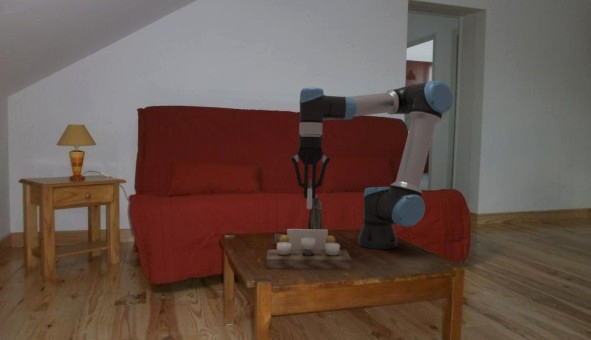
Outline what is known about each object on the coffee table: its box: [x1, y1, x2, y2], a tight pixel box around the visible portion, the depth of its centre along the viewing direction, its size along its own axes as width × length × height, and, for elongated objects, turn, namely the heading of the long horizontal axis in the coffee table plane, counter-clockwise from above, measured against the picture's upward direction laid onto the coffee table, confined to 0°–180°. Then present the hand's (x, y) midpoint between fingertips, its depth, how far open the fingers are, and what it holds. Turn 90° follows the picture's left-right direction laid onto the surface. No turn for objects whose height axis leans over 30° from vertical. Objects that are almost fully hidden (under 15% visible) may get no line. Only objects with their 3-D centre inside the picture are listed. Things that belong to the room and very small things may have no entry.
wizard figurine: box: [306, 178, 324, 229], centre depth 178 cm, size 10×8×25 cm
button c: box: [276, 242, 291, 256], centre depth 141 cm, size 5×5×6 cm
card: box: [280, 228, 336, 250], centre depth 147 cm, size 19×1×10 cm, turn 91°
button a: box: [325, 242, 341, 256], centre depth 141 cm, size 5×5×6 cm
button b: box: [301, 237, 316, 256], centre depth 141 cm, size 5×5×6 cm
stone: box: [273, 233, 283, 244], centre depth 165 cm, size 9×11×5 cm
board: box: [265, 248, 352, 270], centre depth 141 cm, size 27×12×3 cm, turn 91°
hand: (309, 208), depth 140 cm, fingers closed
